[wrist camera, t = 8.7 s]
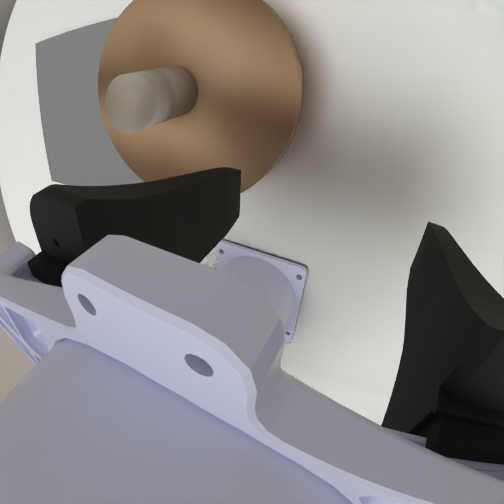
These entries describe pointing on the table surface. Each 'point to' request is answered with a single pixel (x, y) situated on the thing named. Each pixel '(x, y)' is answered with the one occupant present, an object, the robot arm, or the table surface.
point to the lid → (200, 87)
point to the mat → (77, 110)
